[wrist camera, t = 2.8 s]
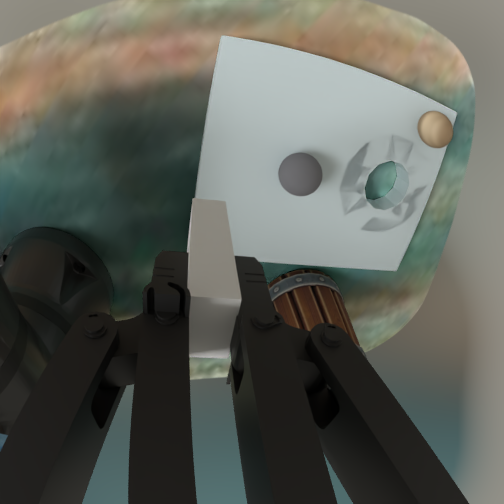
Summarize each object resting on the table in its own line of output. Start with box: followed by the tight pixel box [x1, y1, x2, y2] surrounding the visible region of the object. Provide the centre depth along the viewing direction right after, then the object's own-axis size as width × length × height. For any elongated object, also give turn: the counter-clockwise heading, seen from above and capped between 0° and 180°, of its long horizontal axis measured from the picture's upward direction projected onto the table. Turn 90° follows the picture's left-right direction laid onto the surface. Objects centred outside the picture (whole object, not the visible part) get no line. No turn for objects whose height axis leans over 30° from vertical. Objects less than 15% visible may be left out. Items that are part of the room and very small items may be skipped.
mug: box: [268, 269, 367, 359], centre depth 33 cm, size 16×11×15 cm
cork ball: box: [417, 111, 453, 148], centre depth 24 cm, size 4×4×4 cm
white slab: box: [195, 35, 457, 271], centre depth 28 cm, size 24×20×2 cm
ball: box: [278, 152, 323, 196], centre depth 25 cm, size 4×4×4 cm
